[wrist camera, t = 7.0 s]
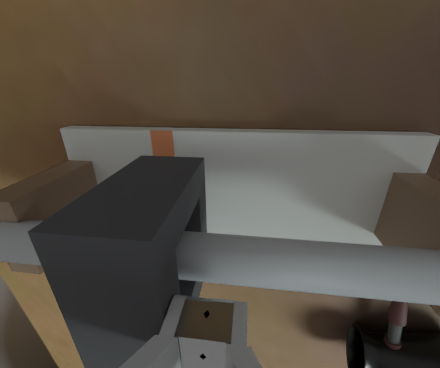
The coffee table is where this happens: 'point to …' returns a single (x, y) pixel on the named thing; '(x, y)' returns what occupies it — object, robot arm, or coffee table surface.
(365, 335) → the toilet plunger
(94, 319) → the collar
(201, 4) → the coffee table surface
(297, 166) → the rail
